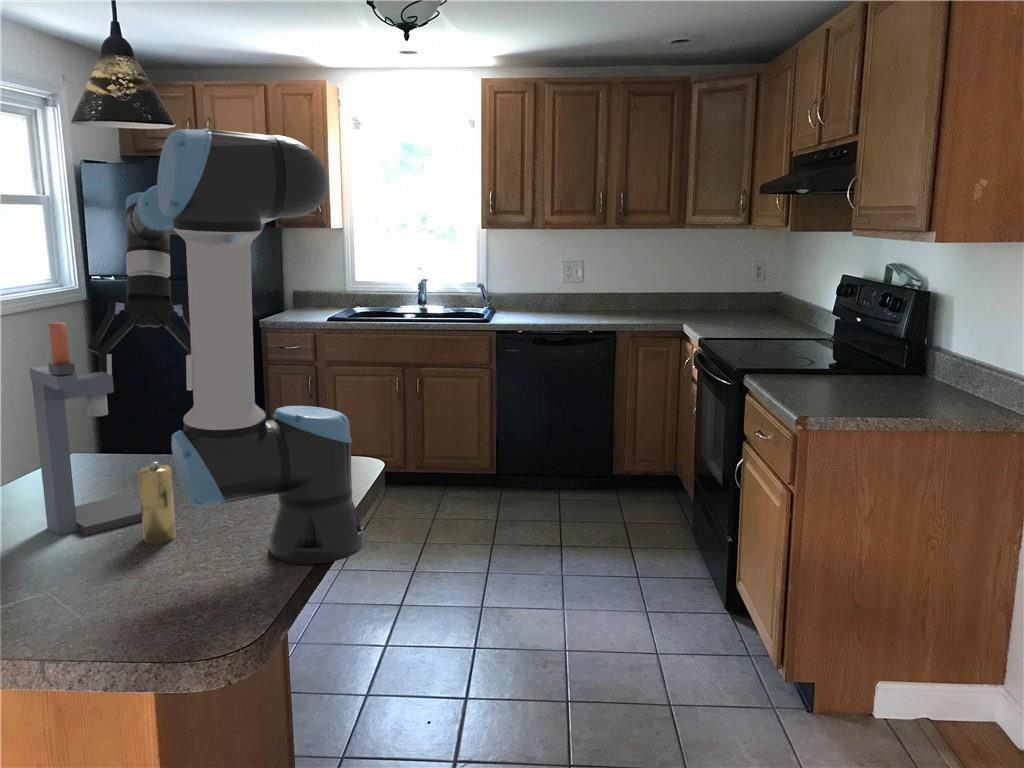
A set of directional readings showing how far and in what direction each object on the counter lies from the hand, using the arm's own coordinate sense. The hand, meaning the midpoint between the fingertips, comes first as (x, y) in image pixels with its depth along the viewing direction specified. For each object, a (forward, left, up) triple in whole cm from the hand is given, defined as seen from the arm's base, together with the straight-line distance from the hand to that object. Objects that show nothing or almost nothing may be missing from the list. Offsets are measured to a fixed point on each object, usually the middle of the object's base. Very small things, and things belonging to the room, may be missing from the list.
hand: (150, 390), depth 149 cm
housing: (-18, +8, -21) cm, 29 cm away
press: (-4, +12, -21) cm, 25 cm away
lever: (-9, +18, +7) cm, 21 cm away
